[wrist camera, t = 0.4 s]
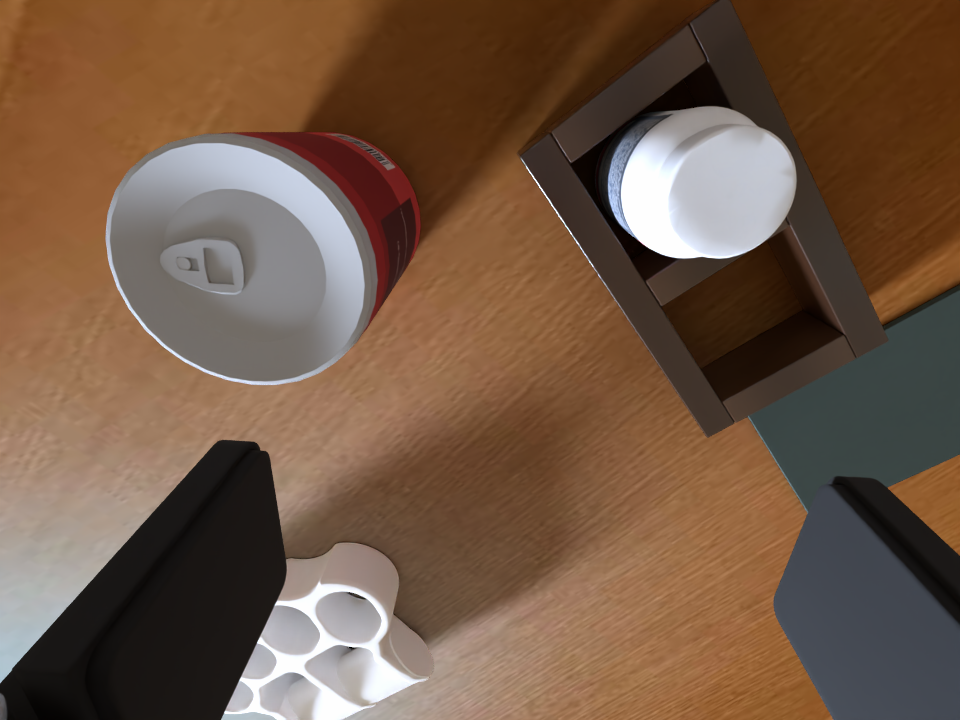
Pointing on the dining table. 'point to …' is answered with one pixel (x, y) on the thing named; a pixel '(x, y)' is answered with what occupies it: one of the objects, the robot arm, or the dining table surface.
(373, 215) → the canned food
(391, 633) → the white brass knuckles
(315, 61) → the dining table surface
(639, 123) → the pill bottle
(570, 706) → the dining table surface
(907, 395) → the mat
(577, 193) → the holder
